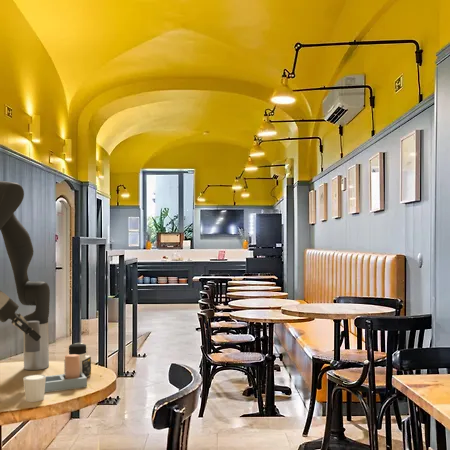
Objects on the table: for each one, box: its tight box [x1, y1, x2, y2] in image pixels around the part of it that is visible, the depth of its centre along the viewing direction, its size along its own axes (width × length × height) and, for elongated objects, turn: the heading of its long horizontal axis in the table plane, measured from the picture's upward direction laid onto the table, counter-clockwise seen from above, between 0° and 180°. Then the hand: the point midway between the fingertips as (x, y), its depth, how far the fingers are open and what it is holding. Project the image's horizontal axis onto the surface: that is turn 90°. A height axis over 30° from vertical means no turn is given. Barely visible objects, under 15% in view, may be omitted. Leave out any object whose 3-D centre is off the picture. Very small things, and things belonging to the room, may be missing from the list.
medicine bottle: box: [63, 342, 92, 378], centre depth 208 cm, size 7×7×12 cm
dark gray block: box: [25, 321, 40, 352], centre depth 199 cm, size 5×5×10 cm
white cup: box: [22, 374, 47, 403], centre depth 182 cm, size 7×7×7 cm
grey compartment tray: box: [45, 354, 88, 393], centre depth 196 cm, size 9×15×10 cm, turn 114°
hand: (38, 337), depth 200 cm, fingers closed on dark gray block, 4 cm apart
